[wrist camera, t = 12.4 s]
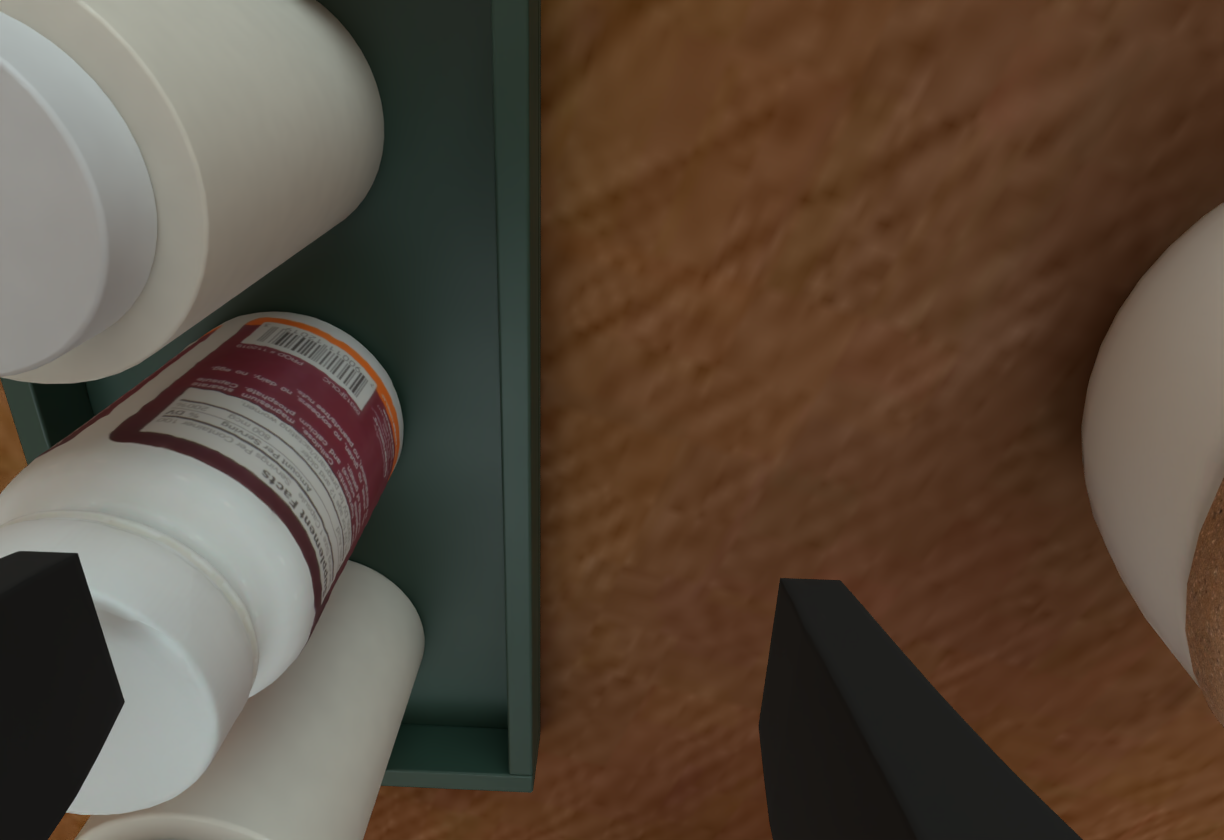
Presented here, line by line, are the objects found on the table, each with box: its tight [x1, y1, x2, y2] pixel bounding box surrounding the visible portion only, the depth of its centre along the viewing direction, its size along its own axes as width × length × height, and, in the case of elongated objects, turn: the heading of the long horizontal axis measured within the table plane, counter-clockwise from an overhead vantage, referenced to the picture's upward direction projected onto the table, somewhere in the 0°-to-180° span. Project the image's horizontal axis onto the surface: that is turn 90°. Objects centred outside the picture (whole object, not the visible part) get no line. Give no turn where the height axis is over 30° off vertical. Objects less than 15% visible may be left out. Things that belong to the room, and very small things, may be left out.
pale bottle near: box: [0, 0, 384, 384], centre depth 11 cm, size 5×5×8 cm
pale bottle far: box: [75, 560, 425, 840], centre depth 17 cm, size 5×5×8 cm
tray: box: [0, 0, 541, 792], centre depth 17 cm, size 19×10×2 cm, turn 178°
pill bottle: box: [0, 312, 404, 815], centre depth 14 cm, size 5×5×8 cm
